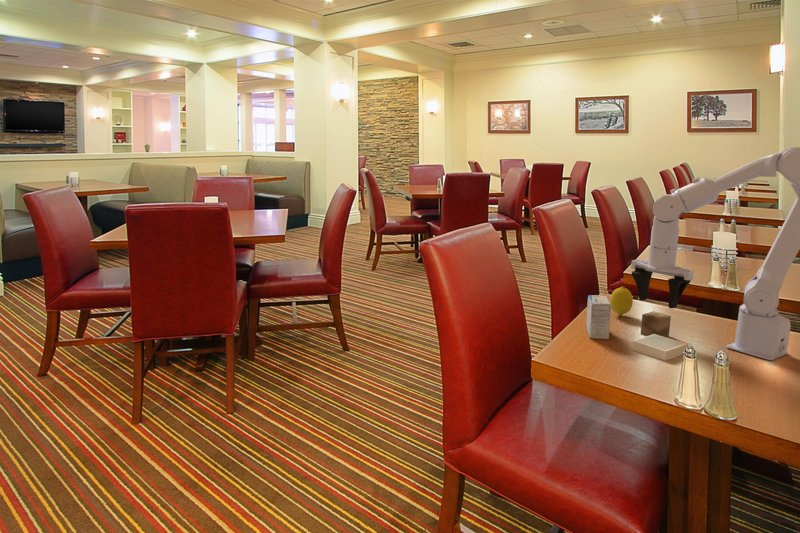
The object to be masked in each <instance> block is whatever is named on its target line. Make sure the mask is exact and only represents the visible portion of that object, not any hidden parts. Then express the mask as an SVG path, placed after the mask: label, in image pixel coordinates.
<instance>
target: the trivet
mask: <svg viewBox="0 0 800 533" xmlns="http://www.w3.org/2000/svg"><path fill="white" fill-rule="evenodd" d="M631 344H632V345H631V350H633V351H635V352H638V353H642V354H645V355H648V356H650V357H653V358H656V359H659V360H662V361H668V360H671V359H674V358H676V357H679V356H682V354H683V352H684V349H685V348H686V347H687V348H688V343H686V342H682V341H678V340H675V339H672V338H669V337H663V336H659V335H656V334H652V335H649V336H643V337H640V338H637V339H633V340H632V343H631ZM683 355H684V354H683Z"/></svg>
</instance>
